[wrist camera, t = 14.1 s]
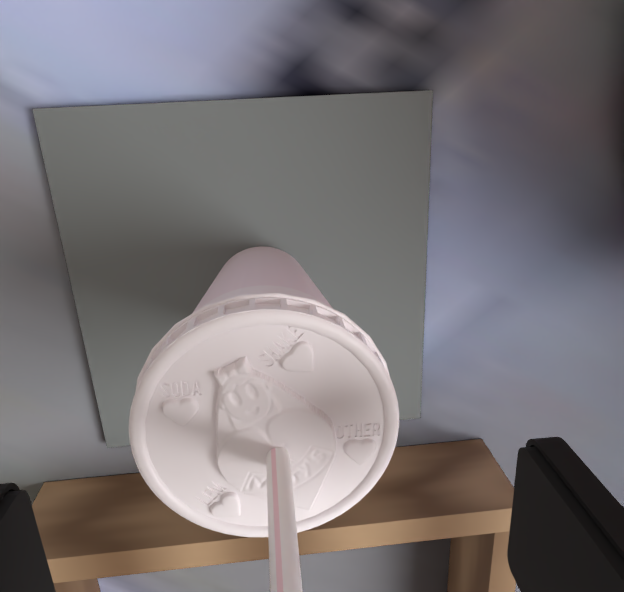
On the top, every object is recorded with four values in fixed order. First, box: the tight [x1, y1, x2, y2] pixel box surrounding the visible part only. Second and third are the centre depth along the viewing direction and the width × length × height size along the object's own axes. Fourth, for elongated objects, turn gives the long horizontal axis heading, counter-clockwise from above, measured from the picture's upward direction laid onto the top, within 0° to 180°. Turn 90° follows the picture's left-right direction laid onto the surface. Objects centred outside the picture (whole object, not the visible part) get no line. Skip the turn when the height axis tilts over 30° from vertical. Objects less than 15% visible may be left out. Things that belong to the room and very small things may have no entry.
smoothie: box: [129, 246, 399, 592], centre depth 15 cm, size 6×6×14 cm
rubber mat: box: [32, 90, 433, 448], centre depth 21 cm, size 14×14×1 cm
